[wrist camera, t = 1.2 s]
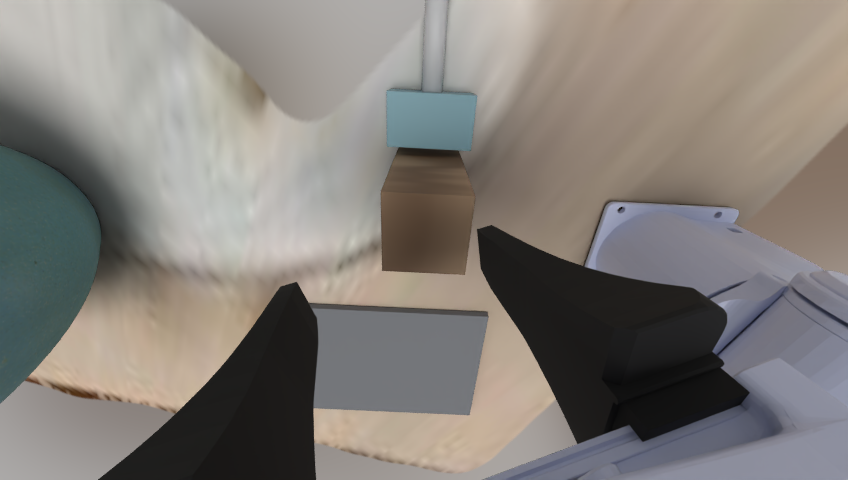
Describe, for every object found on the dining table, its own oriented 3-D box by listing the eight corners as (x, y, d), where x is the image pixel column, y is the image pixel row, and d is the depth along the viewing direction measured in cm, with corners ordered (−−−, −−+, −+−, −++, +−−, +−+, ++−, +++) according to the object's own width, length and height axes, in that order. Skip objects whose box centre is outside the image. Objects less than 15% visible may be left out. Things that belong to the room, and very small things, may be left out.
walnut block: (458, 149, 21) (475, 196, 13) (452, 204, 23) (464, 274, 15) (398, 146, 21) (380, 191, 13) (398, 202, 23) (382, 270, 15)
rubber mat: (487, 312, 28) (488, 316, 27) (468, 409, 34) (469, 415, 34) (284, 302, 28) (281, 306, 27) (305, 402, 34) (303, 407, 34)
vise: (494, -41, 16) (504, -59, 14) (460, 246, 25) (462, 264, 22) (383, -48, 16) (376, -66, 14) (386, 243, 25) (382, 260, 22)
